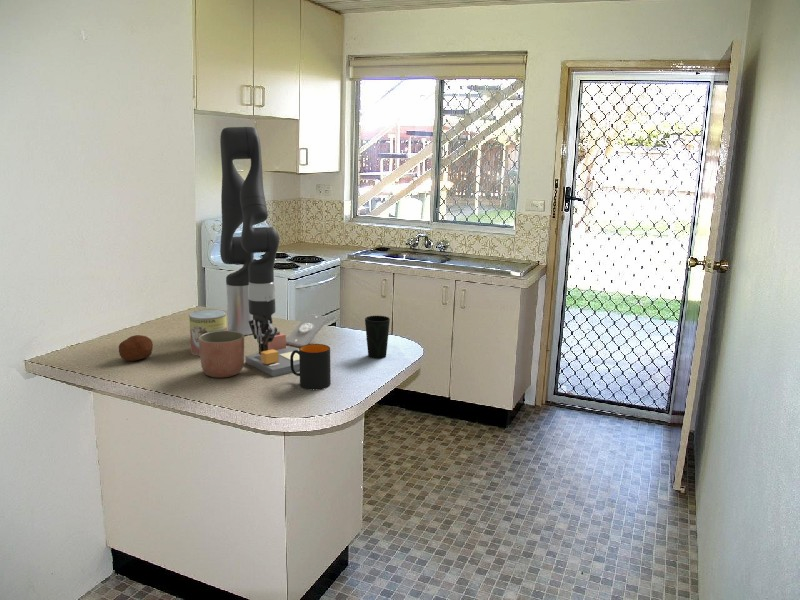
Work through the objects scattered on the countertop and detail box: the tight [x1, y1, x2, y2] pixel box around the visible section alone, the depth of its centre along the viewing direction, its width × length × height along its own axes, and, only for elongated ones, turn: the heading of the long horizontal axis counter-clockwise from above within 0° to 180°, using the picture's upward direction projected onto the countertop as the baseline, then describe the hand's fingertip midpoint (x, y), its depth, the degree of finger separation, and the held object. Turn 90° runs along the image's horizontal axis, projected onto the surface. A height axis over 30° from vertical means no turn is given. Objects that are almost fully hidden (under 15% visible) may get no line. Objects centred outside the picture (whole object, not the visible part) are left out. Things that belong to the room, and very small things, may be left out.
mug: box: [290, 343, 332, 391], centre depth 183 cm, size 8×12×10 cm
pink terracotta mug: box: [198, 330, 245, 379], centre depth 190 cm, size 12×12×11 cm
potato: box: [118, 334, 154, 362], centre depth 202 cm, size 8×11×8 cm
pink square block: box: [268, 330, 287, 350], centre depth 210 cm, size 5×5×7 cm
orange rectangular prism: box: [261, 349, 279, 364], centre depth 194 cm, size 3×4×3 cm
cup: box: [364, 315, 391, 360], centre depth 208 cm, size 8×8×12 cm
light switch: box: [286, 313, 330, 348], centre depth 224 cm, size 8×6×14 cm
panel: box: [244, 346, 300, 377], centre depth 200 cm, size 16×16×2 cm
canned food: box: [188, 309, 228, 357], centre depth 211 cm, size 11×11×12 cm
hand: (263, 354), depth 196 cm, fingers closed
